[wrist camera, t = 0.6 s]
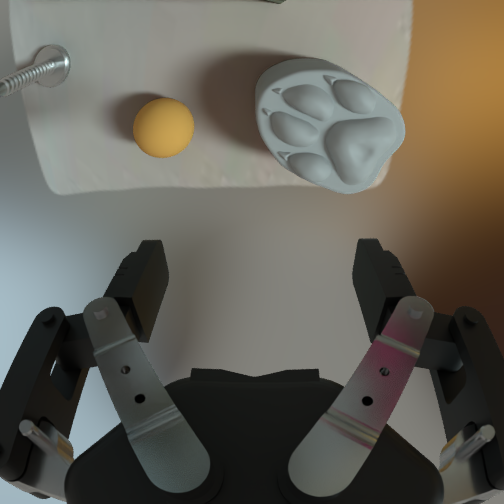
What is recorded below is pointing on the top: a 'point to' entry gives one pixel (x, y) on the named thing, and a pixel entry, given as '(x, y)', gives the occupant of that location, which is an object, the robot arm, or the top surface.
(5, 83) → the screw
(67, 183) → the top surface
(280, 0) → the bridge
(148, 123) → the ball
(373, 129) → the lumpy-topped squat cylinder
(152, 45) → the top surface
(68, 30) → the top surface
